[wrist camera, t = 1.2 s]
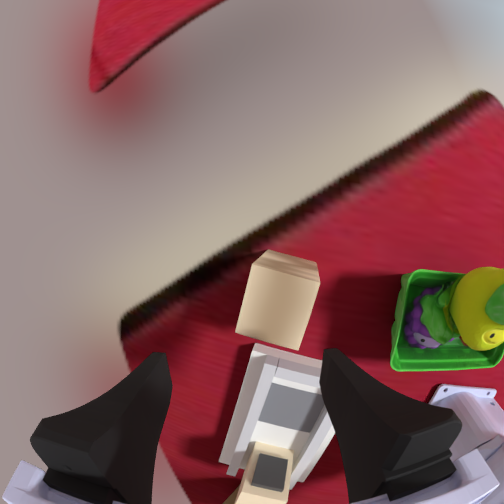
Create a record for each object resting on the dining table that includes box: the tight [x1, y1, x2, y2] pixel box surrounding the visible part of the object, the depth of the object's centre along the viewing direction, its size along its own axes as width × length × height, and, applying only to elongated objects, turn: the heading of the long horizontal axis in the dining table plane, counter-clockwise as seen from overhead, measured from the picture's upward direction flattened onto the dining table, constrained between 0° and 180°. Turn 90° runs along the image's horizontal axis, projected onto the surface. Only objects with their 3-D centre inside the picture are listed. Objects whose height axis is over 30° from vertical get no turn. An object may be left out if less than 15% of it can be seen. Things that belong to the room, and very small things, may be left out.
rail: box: [219, 343, 335, 504], centre depth 21 cm, size 10×16×8 cm, turn 166°
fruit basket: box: [390, 267, 504, 371], centre depth 16 cm, size 11×9×11 cm
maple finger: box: [235, 250, 320, 350], centre depth 20 cm, size 4×5×7 cm
